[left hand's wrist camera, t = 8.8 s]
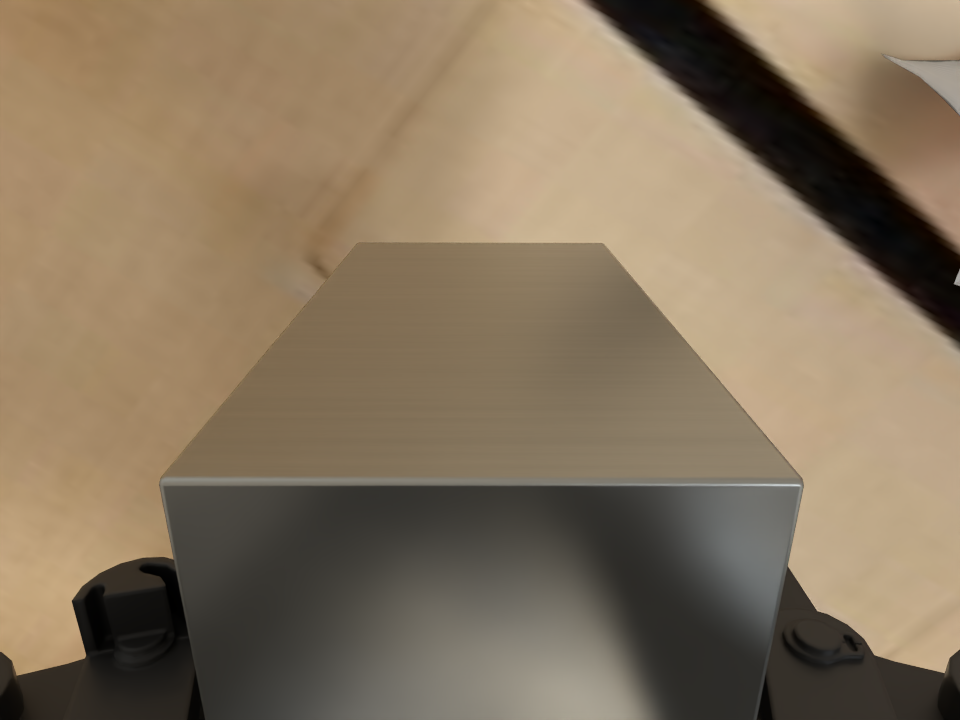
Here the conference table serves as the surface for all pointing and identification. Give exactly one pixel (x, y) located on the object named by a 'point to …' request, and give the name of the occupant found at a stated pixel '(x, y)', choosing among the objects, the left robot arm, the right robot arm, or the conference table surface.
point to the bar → (481, 504)
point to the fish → (937, 83)
